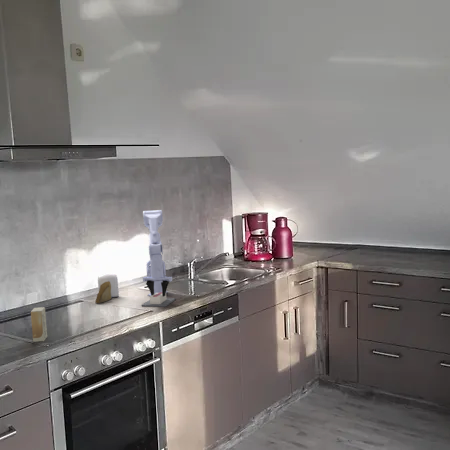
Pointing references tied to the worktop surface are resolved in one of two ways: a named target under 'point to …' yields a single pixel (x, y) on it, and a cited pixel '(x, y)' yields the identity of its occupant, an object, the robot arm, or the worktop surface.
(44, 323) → the skincare box
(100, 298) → the rock
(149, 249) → the robot arm
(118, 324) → the worktop surface
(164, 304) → the mat
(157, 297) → the card deck
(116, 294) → the photo printer
